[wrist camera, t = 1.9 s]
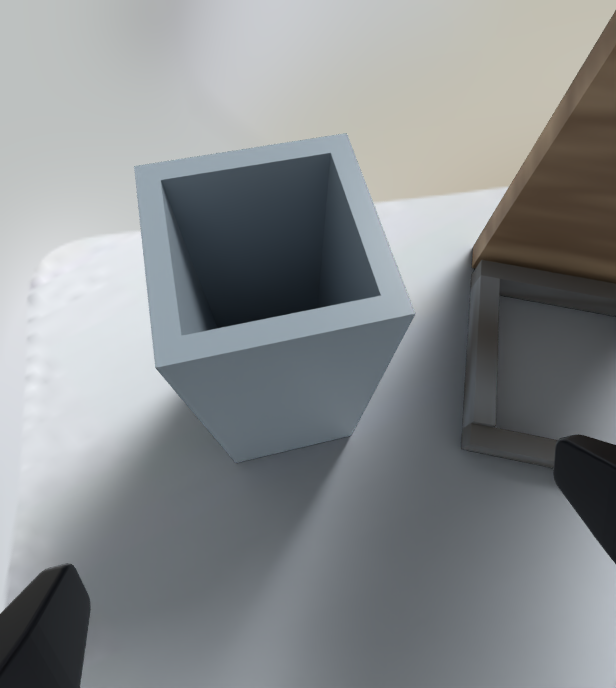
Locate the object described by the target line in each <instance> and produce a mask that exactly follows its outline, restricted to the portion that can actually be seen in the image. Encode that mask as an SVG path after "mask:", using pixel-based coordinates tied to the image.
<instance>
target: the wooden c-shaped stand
mask: <svg viewBox="0 0 616 688" xmlns="http://www.w3.org/2000/svg"><path fill="white" fill-rule="evenodd" d="M472 268H476V269H475V270H474V272H473V273H472V275H471V289H470V306H469V323H468V340H467V356H466V373H465V390H464V407H463V424H462V441H461V449H463V450H468V451H473V452H477V453H482V454H487V455H492V456H497V457H502V458H507V459H511V460H516V461H521V462H526V463H531V464H536V465H541V466H546V467H550V468H554V457H555V446H556V443H557V441H558V440H554V439H549V438H544V437H539V436H534V435H529V434H524V433H519V432H514V431H509V430H504V429H499V428H494V426H496V398H497V362H498V325H499V295H501V296H507V297H512V298H518V299H523V300H529V301H534V302H540V303H545V304H550V305H556V306H561V307H567V308H572V309H578V310H583V311H589V312H594V313H600V314H605V315H611V316H616V11H615V13H614V14H613V16H612V17H611V19H610V21H609V22H608V24H607V26H606V27H605V29H604V31H603V32H602V34H601V36H600V37H599V39H598V41H597V42H596V44H595V46H594V47H593V49H592V50H591V52H590V54H589V55H588V57H587V59H586V61H585V62H584V64H583V66H582V67H581V69H580V70H579V72H578V74H577V75H576V77H575V79H574V80H573V82H572V84H571V85H570V87H569V89H568V91H567V92H566V94H565V96H564V97H563V99H562V100H561V102H560V104H559V106H558V107H557V108H556V110H555V112H554V113H553V115H552V117H551V118H550V120H549V122H548V123H547V125H546V127H545V128H544V130H543V132H542V133H541V135H540V137H539V138H538V140H537V142H536V143H535V145H534V147H533V148H532V150H531V152H530V153H529V155H528V156H527V158H526V160H525V162H524V163H523V165H522V166H521V168H520V170H519V171H518V173H517V175H516V177H515V178H514V180H513V181H512V183H511V185H510V186H509V188H508V190H507V191H506V193H505V195H504V196H503V198H502V200H501V201H500V203H499V205H498V206H497V208H496V209H495V211H494V213H493V214H492V216H491V218H490V219H489V221H488V223H487V224H486V226H485V228H484V229H483V231H482V233H481V234H480V236H479V238H478V239H477V241H476V243H475V244H474V246H473V255H472Z"/></svg>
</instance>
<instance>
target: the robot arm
mask: <svg viewBox="0 0 616 688" xmlns="http://www.w3.org/2000/svg"><path fill="white" fill-rule="evenodd" d="M553 474H554V479H555V482H556V484H557V486H558V487H559V489H560V490H561V491H562V493H563V494H564V495H565V497H566V498H567V500H568V501H569V502H570V504H571V505H572V506H573V508H574V509H575V510H576V512H577V513H578V515H579V516H580V517H581V519H582V520H583V521H584V523H585V524H586V526H587V527H588V528H589V530H590V531H591V532H592V534H593V535H594V536H595V538H596V539H597V541H598V542H599V543H600V545H601V546H602V547H603V549H604V550H605V551H606V552H607V554H608V555H609V556H610V558H611V559H612V560H613V561H614V562H615V564H616V445H613V444H610V443H607V442H603V441H600V440H597V439H594V438H590V437H587V436H584V435H572V436H568V437H564V438H561V439H559V440H558V441H557V443H556V446H555V457H554V470H553ZM89 617H90V599H89V595H88V593H87V591H86V589H85V587H84V585H83V583H82V581H81V578H80V576H79V574H78V572H77V570H76V568H75V567H74V566H73V565H72V564H68V563H67V564H62V565H58V566H54V567H50V568H47V569H45V570H43V571H42V572H41V573H40V574H39V575H38V576H37V577H36V578H35V579H34V580H33V581H32V582H31V583H30V584H29V585H28V586H27V587H26V588H25V589H24V590H23V591H22V592H21V593H20V594H19V595H18V596H17V597H16V598H15V599H14V600H13V601H12V602H11V603H10V604H9V605H8V606H7V607H6V608H5V610H4V611H3V612H2V613H1V614H0V688H80V683H81V675H82V668H83V661H84V653H85V646H86V639H87V631H88V624H89Z"/></svg>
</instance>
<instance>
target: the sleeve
mask: <svg viewBox="0 0 616 688" xmlns="http://www.w3.org/2000/svg"><path fill="white" fill-rule="evenodd" d="M134 169H135V179H136V188H137V198H138V207H139V217H140V226H141V236H142V245H143V255H144V264H145V274H146V283H147V293H148V302H149V311H150V321H151V330H152V340H153V349H154V359H155V368H156V369H157V370H158V371H159V373H160V374H161V375H162V376H163V377H164V379H165V380H166V381H167V382H168V383H169V384H170V386H171V387H172V388H173V389H174V390H175V392H176V393H177V394H178V395H179V396H180V398H181V399H182V400H183V401H184V402H185V403H186V405H187V406H188V407H189V408H190V409H191V411H192V412H193V413H194V414H195V415H196V416H197V418H198V419H199V420H200V421H201V422H202V424H203V425H204V426H205V427H206V428H207V430H208V431H209V432H210V433H211V434H212V435H213V437H214V438H215V439H216V440H217V441H218V443H219V444H220V445H221V446H222V447H223V449H224V450H225V451H226V452H227V453H228V454H229V456H230V457H231V458H232V459H233V460H234V462H235V463H238V462H242V461H246V460H251V459H255V458H259V457H263V456H267V455H272V454H276V453H280V452H284V451H289V450H293V449H297V448H301V447H305V446H310V445H314V444H318V443H322V442H326V441H331V440H335V439H339V438H343V437H347V436H351V435H352V433H353V431H354V429H355V427H356V426H357V424H358V422H359V420H360V418H361V416H362V414H363V412H364V410H365V408H366V407H367V405H368V403H369V401H370V399H371V397H372V395H373V393H374V391H375V389H376V388H377V386H378V384H379V382H380V380H381V378H382V376H383V374H384V372H385V371H386V369H387V367H388V365H389V363H390V361H391V359H392V357H393V355H394V353H395V352H396V350H397V348H398V346H399V344H400V342H401V340H402V338H403V336H404V334H405V333H406V331H407V329H408V327H409V325H410V323H411V321H412V319H413V317H414V315H415V311H414V308H413V306H412V303H411V300H410V298H409V295H408V293H407V290H406V287H405V285H404V282H403V280H402V277H401V274H400V272H399V269H398V266H397V264H396V261H395V259H394V256H393V253H392V251H391V248H390V245H389V243H388V240H387V238H386V235H385V232H384V230H383V227H382V224H381V222H380V219H379V217H378V214H377V211H376V209H375V206H374V203H373V201H372V198H371V196H370V193H369V190H368V188H367V185H366V183H365V180H364V178H363V175H362V172H361V169H360V167H359V165H358V161H357V159H356V156H355V154H354V151H353V149H352V146H351V143H350V141H349V138H348V135H347V133H345V134H338V135H332V136H325V137H319V138H312V139H306V140H300V141H294V142H287V143H280V144H274V145H267V146H261V147H255V148H249V149H242V150H236V151H229V152H223V153H216V154H210V155H204V156H197V157H190V158H184V159H178V160H171V161H165V162H158V163H153V164H146V165H139V166H134Z"/></svg>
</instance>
